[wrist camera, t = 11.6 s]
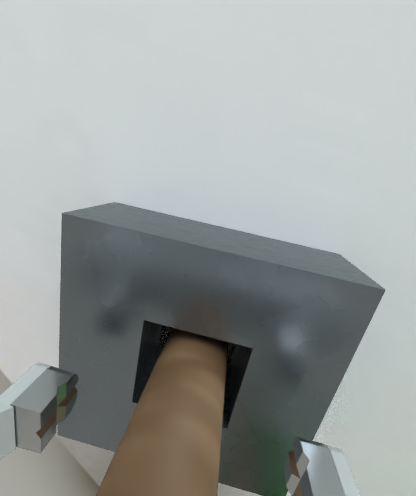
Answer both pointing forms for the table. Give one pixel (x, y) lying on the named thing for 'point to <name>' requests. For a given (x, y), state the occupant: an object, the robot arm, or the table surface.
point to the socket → (207, 328)
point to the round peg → (174, 424)
